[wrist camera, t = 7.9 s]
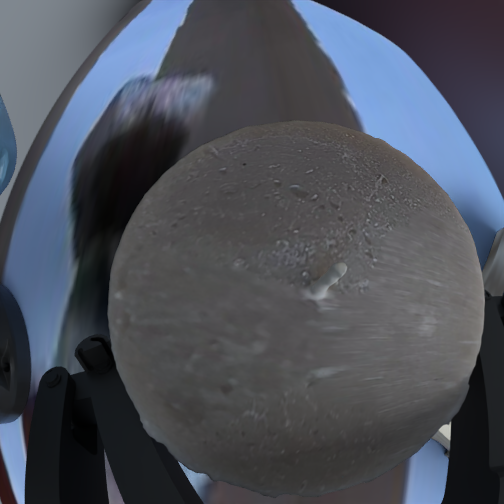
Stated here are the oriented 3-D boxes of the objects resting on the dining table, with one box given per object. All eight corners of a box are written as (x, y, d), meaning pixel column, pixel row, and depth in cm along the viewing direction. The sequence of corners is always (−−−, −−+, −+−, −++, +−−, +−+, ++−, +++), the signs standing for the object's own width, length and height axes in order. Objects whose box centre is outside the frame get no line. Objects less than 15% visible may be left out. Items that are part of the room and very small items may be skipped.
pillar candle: (259, 234, 21) (247, 45, 7) (374, 303, 19) (539, 216, 5) (182, 346, 19) (8, 336, 4) (302, 421, 17) (378, 568, 2)
